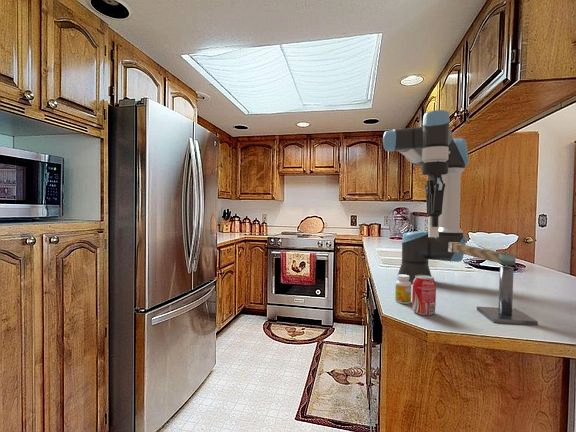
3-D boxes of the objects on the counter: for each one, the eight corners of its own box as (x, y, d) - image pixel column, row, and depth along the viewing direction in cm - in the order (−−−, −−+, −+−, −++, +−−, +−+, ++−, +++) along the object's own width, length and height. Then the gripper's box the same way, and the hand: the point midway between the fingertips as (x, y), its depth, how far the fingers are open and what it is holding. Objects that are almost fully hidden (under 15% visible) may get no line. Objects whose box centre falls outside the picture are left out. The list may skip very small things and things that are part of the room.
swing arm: (518, 266, 99) (519, 254, 99) (505, 266, 99) (505, 254, 99) (457, 251, 131) (458, 242, 131) (447, 251, 131) (447, 242, 131)
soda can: (415, 308, 110) (416, 273, 110) (437, 312, 106) (438, 276, 105) (408, 313, 105) (409, 276, 104) (431, 318, 100) (432, 280, 100)
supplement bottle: (392, 300, 119) (392, 274, 118) (403, 299, 121) (404, 273, 120) (402, 304, 114) (402, 277, 113) (414, 303, 116) (414, 276, 115)
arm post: (476, 309, 109) (478, 263, 108) (515, 312, 107) (517, 264, 106) (493, 322, 97) (495, 270, 96) (537, 325, 95) (539, 271, 94)
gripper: (455, 159, 93) (453, 239, 95) (441, 164, 106) (439, 234, 107) (428, 159, 95) (426, 239, 96) (417, 164, 107) (416, 234, 109)
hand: (433, 236), depth 102 cm, fingers closed
